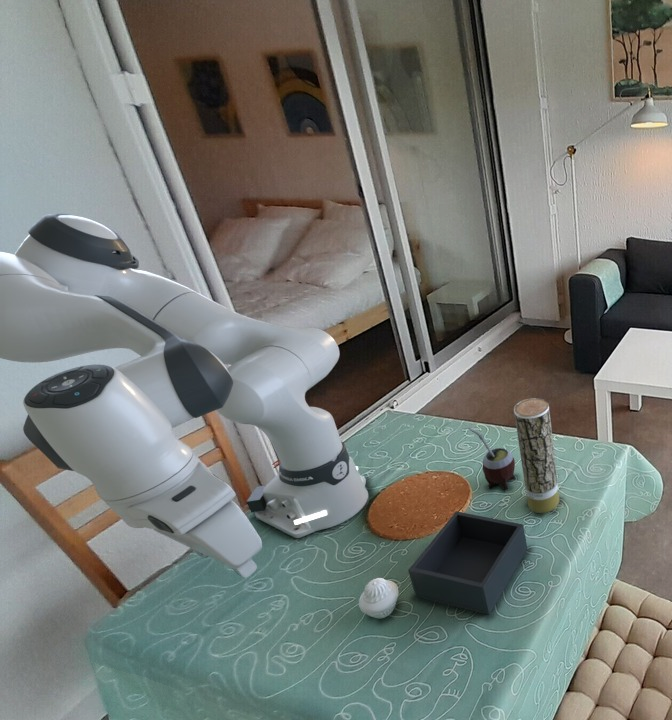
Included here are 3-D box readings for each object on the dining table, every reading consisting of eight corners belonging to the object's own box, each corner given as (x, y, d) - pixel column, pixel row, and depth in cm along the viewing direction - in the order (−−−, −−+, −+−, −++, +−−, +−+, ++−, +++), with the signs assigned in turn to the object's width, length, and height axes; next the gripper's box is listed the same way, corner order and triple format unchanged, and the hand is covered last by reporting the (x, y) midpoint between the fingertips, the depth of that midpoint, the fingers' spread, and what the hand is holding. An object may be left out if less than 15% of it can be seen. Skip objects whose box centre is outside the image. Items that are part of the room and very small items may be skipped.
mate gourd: (521, 484, 115) (513, 430, 109) (488, 498, 111) (477, 443, 105) (509, 468, 121) (501, 415, 114) (477, 480, 117) (466, 427, 110)
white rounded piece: (386, 590, 90) (377, 562, 87) (410, 603, 88) (401, 575, 85) (356, 618, 85) (344, 590, 82) (380, 632, 83) (370, 604, 80)
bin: (415, 597, 89) (407, 570, 86) (462, 536, 102) (456, 511, 98) (489, 615, 86) (483, 587, 82) (527, 550, 98) (523, 524, 95)
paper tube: (553, 517, 106) (541, 418, 95) (523, 512, 107) (507, 414, 96) (563, 495, 112) (553, 399, 101) (535, 491, 113) (522, 396, 102)
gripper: (91, 490, 62) (162, 560, 69) (179, 530, 54) (249, 606, 61) (149, 456, 67) (209, 525, 74) (238, 488, 58) (296, 563, 66)
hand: (228, 562), depth 67 cm, fingers open, 8 cm apart
